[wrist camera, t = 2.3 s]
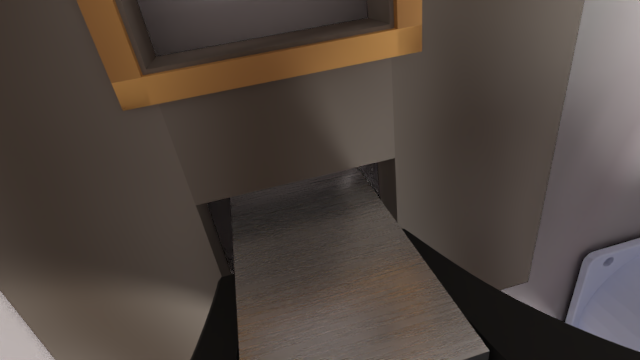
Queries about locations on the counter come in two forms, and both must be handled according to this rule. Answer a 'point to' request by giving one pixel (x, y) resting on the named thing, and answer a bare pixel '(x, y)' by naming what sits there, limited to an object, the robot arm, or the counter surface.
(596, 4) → the counter surface
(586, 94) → the counter surface
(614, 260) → the robot arm
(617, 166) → the counter surface
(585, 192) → the counter surface
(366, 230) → the steel peg
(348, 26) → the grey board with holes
